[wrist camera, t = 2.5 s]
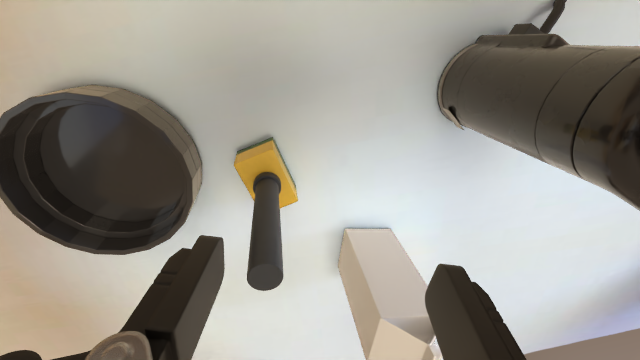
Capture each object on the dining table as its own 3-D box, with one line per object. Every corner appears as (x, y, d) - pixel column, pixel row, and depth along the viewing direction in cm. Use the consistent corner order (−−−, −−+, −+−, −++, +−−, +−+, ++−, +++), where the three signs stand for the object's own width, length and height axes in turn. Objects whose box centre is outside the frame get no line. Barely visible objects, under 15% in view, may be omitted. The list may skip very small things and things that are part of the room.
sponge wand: (237, 151, 34) (207, 253, 18) (272, 137, 33) (274, 226, 17) (263, 198, 37) (257, 320, 21) (295, 185, 37) (314, 298, 21)
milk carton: (337, 265, 44) (379, 407, 27) (344, 227, 41) (396, 359, 24) (380, 264, 45) (447, 399, 28) (391, 227, 42) (471, 353, 25)
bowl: (41, 51, 27) (-6, 54, 22) (223, 128, 32) (216, 143, 28) (19, 200, 32) (-21, 226, 28) (178, 244, 38) (165, 271, 33)
